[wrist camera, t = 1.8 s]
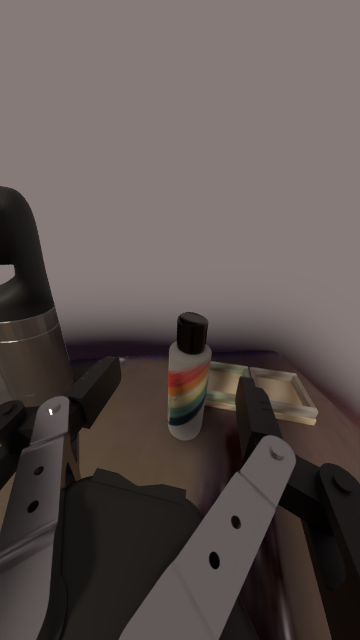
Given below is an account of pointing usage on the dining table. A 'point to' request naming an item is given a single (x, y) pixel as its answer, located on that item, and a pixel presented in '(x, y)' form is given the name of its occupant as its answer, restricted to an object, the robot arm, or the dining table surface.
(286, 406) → the cream flat tray
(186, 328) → the lotion bottle
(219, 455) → the dining table surface
